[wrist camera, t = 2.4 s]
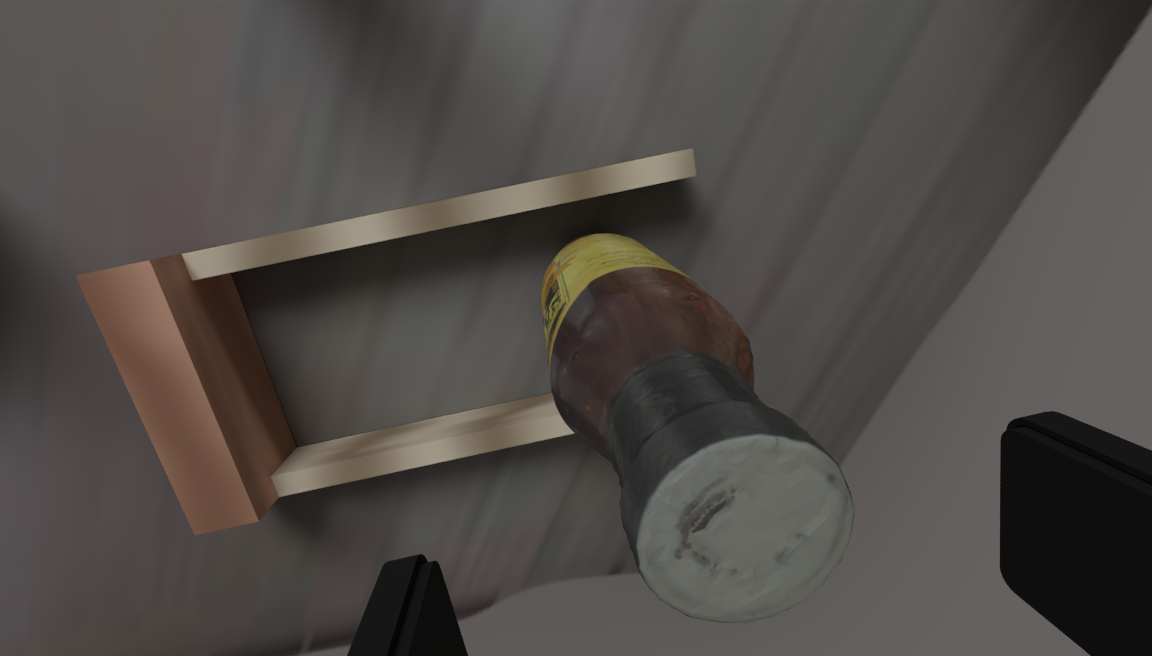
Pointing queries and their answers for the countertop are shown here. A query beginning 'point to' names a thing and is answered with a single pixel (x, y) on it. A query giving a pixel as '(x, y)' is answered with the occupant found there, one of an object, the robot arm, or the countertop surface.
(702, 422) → the sauce bottle
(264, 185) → the countertop surface
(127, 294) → the guide track
